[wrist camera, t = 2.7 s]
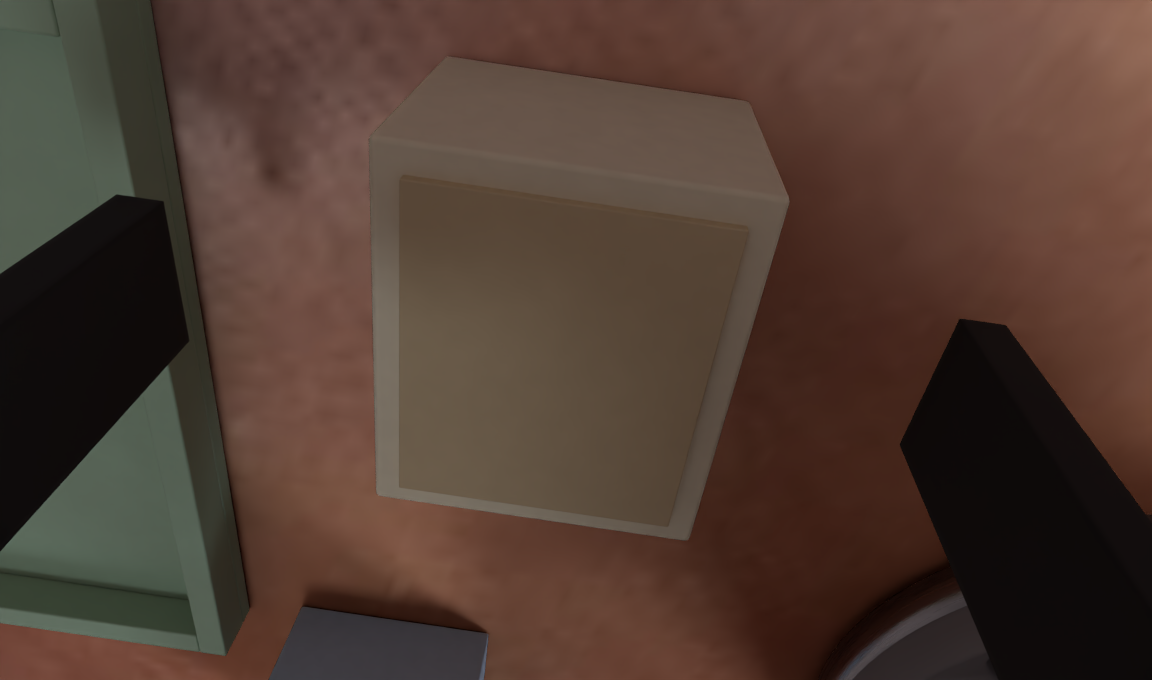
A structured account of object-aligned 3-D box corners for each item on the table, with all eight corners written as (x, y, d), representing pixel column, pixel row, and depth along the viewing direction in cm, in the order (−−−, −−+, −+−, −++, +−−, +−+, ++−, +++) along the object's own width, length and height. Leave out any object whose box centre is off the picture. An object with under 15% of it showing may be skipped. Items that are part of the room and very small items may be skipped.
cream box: (750, 100, 15) (794, 203, 11) (679, 387, 19) (689, 550, 14) (445, 54, 15) (363, 138, 11) (435, 351, 19) (371, 503, 14)
